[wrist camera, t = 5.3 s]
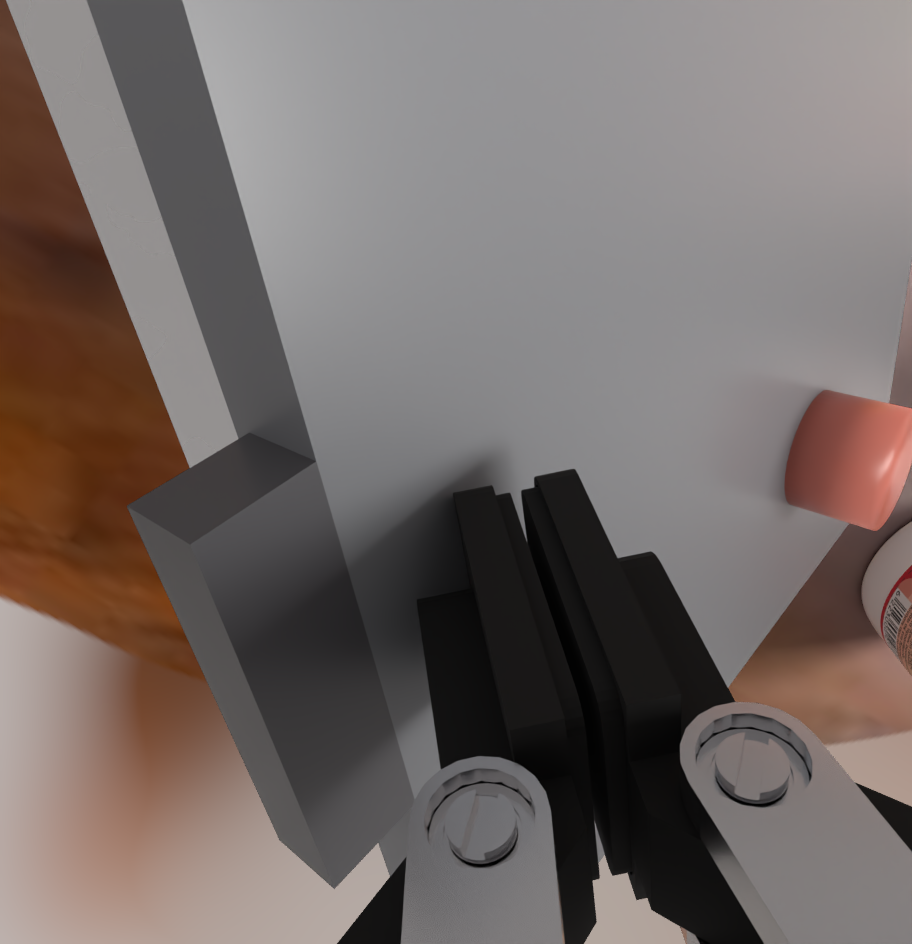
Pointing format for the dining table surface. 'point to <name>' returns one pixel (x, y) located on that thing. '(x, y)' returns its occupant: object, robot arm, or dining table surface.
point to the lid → (508, 329)
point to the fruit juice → (892, 594)
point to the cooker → (125, 215)
